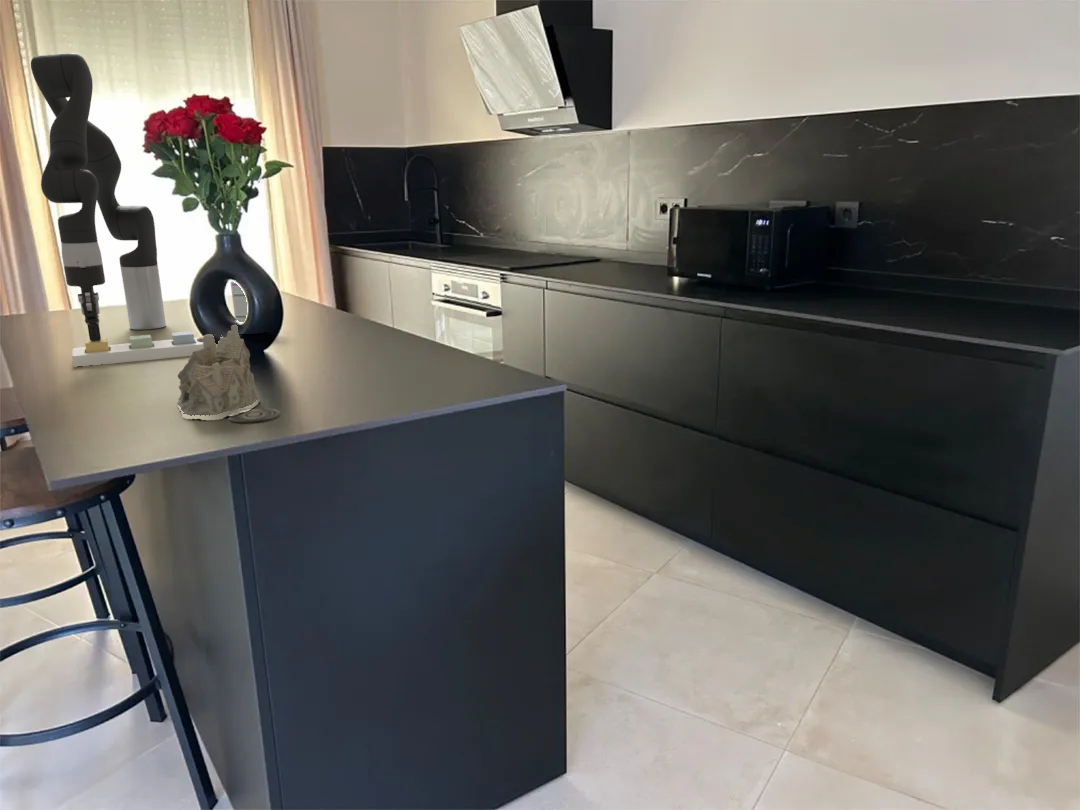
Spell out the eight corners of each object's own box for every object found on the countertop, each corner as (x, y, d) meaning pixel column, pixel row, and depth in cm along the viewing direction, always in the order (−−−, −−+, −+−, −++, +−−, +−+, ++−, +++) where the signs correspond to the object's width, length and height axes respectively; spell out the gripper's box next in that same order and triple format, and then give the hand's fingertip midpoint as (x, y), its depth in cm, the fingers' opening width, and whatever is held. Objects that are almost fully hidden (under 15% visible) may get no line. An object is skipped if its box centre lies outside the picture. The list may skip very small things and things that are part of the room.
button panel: (75, 358, 179) (72, 345, 178) (222, 344, 194) (220, 332, 193) (73, 367, 171) (71, 353, 170) (227, 352, 185) (226, 339, 184)
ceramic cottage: (208, 391, 150) (197, 316, 145) (278, 403, 144) (269, 325, 139) (144, 418, 136) (129, 336, 131) (218, 432, 131) (206, 347, 125)
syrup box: (258, 335, 206) (252, 280, 202) (236, 335, 206) (229, 280, 202) (265, 331, 212) (260, 278, 207) (244, 331, 212) (238, 278, 208)
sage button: (131, 348, 182) (129, 336, 181) (152, 347, 184) (150, 334, 183) (132, 352, 178) (130, 339, 177) (153, 350, 180) (151, 337, 179)
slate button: (173, 345, 186) (171, 332, 185) (193, 343, 188) (191, 331, 187) (174, 348, 182) (173, 335, 181) (194, 346, 184) (193, 334, 183)
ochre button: (87, 352, 177) (85, 340, 177) (109, 350, 179) (107, 338, 179) (87, 356, 174) (85, 343, 173) (109, 354, 176) (107, 341, 175)
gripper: (64, 261, 175) (77, 337, 179) (62, 266, 164) (75, 347, 168) (102, 260, 178) (113, 334, 183) (102, 265, 167) (114, 343, 172)
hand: (95, 340), depth 176 cm, fingers closed
